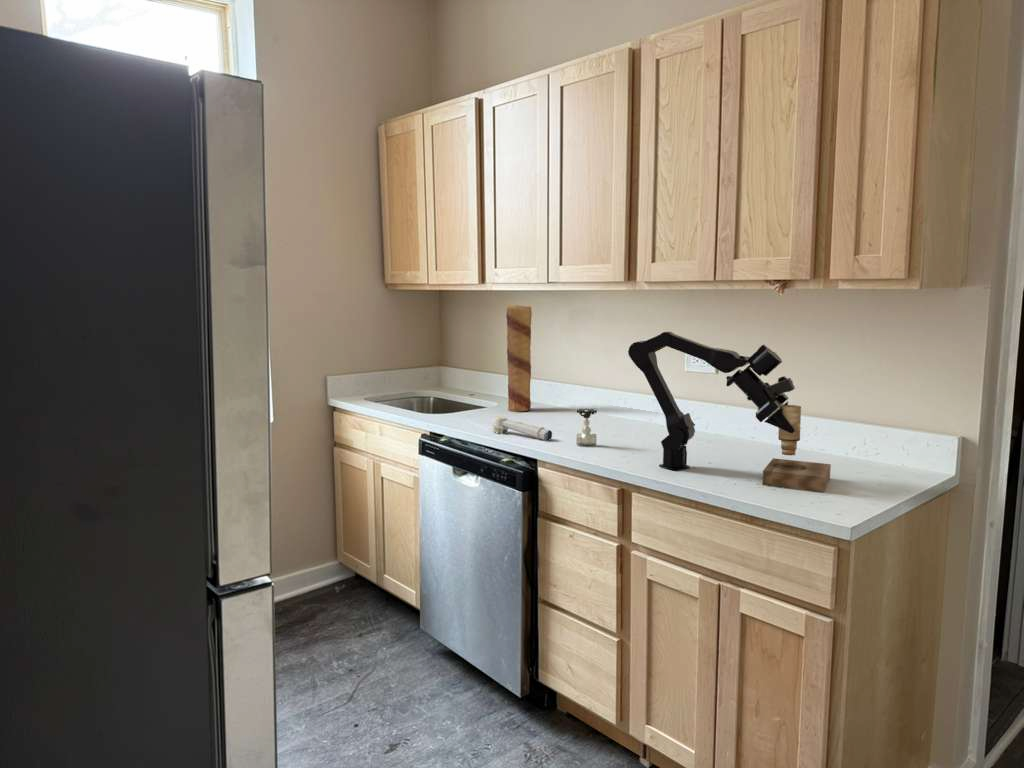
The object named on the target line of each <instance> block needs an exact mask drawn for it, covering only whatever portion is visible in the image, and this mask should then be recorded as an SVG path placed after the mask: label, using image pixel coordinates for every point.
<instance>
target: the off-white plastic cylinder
mask: <svg viewBox="0 0 1024 768" xmlns="http://www.w3.org/2000/svg"><path fill="white" fill-rule="evenodd" d="M492 430H493V431H492V432H494V433H495V432H497V433H498V434H501V433H506V432H507V433H508V430H512V431H515V432H518V433H521V434H522V435H523V434H524V435H527V436H529V437H533V438H536V439H537V440H538V439H540V440H541V439H543V440H542V441H544V440H548V441H550V440H549V439H551V440H552V438H553V432H552V430H550V429H547V428H545V427H544V426H541V427H539V426H535V425H532V424H528V423H523V422H519V421H517V420H512V419H508V417H506V416H503V415H502V416H501V415H497V417H496V418H495V421H494V422H493V423H492ZM497 433H496V434H497ZM507 433H506V434H507Z"/></svg>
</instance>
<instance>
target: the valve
mask: <svg viewBox="0 0 1024 768" xmlns="http://www.w3.org/2000/svg"><path fill="white" fill-rule="evenodd" d="M597 412H598V411H597V409H594V408H587V407H586V408H579V409H576V413H577V414H579V415H580V416H581V417H583V418H584V420H583V427H582V428H581V432H582V433H576V436H575V437H576V438H575V439H576V445H577V446H582V445H583V446H585V445H588V446H596V445H597V433H591V432H592V428H591V427H590V420H589V418H590V417H591V415H595V414H597Z"/></svg>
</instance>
